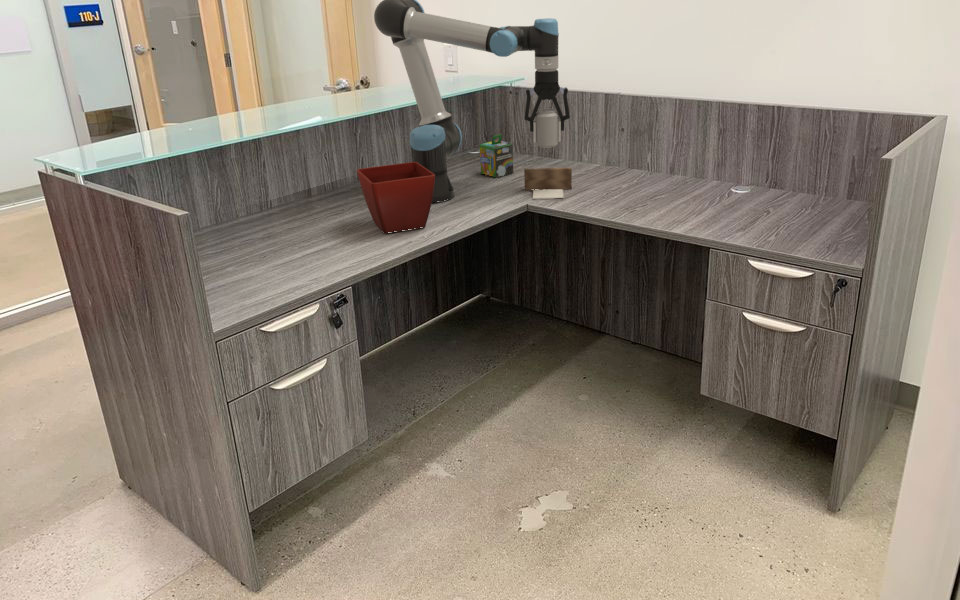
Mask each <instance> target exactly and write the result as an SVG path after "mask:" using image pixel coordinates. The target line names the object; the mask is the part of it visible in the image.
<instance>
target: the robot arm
mask: <svg viewBox="0 0 960 600" xmlns="http://www.w3.org/2000/svg"><path fill="white" fill-rule="evenodd" d="M373 15H374V16H373V19H374V24H375V26H376V28H377V30H378V31H379V32H380V33H381V34H383V35H384V36H385V37H390V39H391V42H392V45H393V46H395V47H397V49H399V51H400V55H401V58H402V61H403V63H404V67H405V70H406V74H407V77H408V80H409V83H410V86H411V89H412V92H413V96H414V98H415V101H416V104H417V108H418V112H419V114H420V116H421V117H420V118H421V119H420V121H419V124H418V125H419V126H417V127H415V128H413V129H412V130H411V131H410V133H409V141H408V143H409V148H410V158H411V159H410V161H411V162H417V163H419V164H420V165H422V166H423V167H425V168H426V169H428V170H429V171H431V172H432V173H433V174H435V182H434V191H433V197H432V202H437V201H444V200H447V199H450V198H452V197H453V196H455V191H454V188H453V185H452V183H451V179H450V177H449V175H448V164H447V163H448V162H447V159H448V158H449V157H451V156H453V155H454V154H456V152H457V151H458V150H459V148H460V146H461V144H462V142H463V141H462V140H463V134H462V131H461V129H460V127H459V126H458V124H456V123H455V122H454V119H453V116H452V114H451V113H450V112H448V111H446V107H445V106H444V102H443V98H442V95H441V93H440V92H441V91H440V89H439V87H438V82H437V80H436V77H435V72H434V69H433V67H432V63H431V60H430V56H429V53H428V51H427V47H426V44H425V40H427V41H432V42H438V43H442V44H446V45H447V44H448V45H452V46H456V47H457V46H458V47H461V48H462V47H463V48H466V49H467V48H468V49H471V50H473V49H474V50H478V51H481V52H487V53H491V54H494V55H495V56H497V57H500V58H501V57H502V58H506V57H510V56H511V55H513V54H515V53H517V52H526V51H527V52H529V51H530V52H534V69H535V70H536V71H534V86H533V87H532V88H526V89H525V94H526V101H525V109H524V111H525V112H524V116H523V117H524V118H523V119H524V120H525V121H527V122H529V131H530V132H531V133H533V143H536V120H535V119H536V114H537V113H538V110H539V108H540V105H541V104H542V101H545V100H548V101H549V100H550V101H551V100H552V102H553V105H554V107H555V109H556V112H557V113H558V118H559V119H558V142H562V139H561V138H562V132H563V131H564V130H565V121H566V120H569V119H570V118H571V115H570V108H569V102H568V100H569V99H568V91H569V90H568V87H567V86H566V87H563V86H562V87H561V86H560V84H559V70H558V68H559V37H560V36H559V34H560V33H559V21H558V20H557V19H556V18H536V19H535V20H534V23H533V25H529V26H528V25H527V26H526V25H522V26H521V25H514V26H513V25H506V26H499V27H496V26H495V27H494V26H490V25H486V24H480V23H476V22H471V21H467V20H466V21H465V20H462V19H461V20H460V19H456V18H450V17H446V16H440V15H435V14H430V13H425V10H424V7H423V6H422V4H421V3H420V2H419V0H382V1H381V2H379V3H378V5H376V7H375V10H374V13H373ZM559 91H560V93H561V95H562V98H563V100H562V101H563V107H564V114H563V112H562V109H561V107H560V105H559V102H558V100H557V97H556V96H557V95H558V93H559ZM534 93H535V94H536V95H537V99H536V101H535V104H534V107H533V109H532V112H531V115H530V107H531V99H532V97H531V96H533V94H534ZM529 115H530V116H529ZM453 198H454V197H453ZM453 198H452V199H453ZM450 200H451V199H450ZM447 201H448V200H447ZM444 202H445V201H444Z"/></svg>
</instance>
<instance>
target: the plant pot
mask: <svg viewBox="0 0 960 600" xmlns="http://www.w3.org/2000/svg"><path fill="white" fill-rule="evenodd" d="M356 173H357V177H358V181H359V184H360V187H361V192H362V194H363V197H364V201H365V203H366V206H367V208H368V211H369V213H370V216H371V218H372V220H373V222H375V223H374V224H375V225H376V226H377V227H378V228H379V230H380V231H381V230H382V231H383V232H384V233H388V232H394V231H402V230H408V229H414V228H420V227H425V228H426V226H427V222H428V219H429V216H430V212H431V207H432V204H433V203H432V197H433V191H434V182H435V174H433V173H432V172H431V171H429V170H428V169H426V168H425V167H423V166H422V165H420V164H419V163H417V162H412V161H409V162H405V163H396V164H395V163H394V164H387V165H380V166H372V167H370V166H369V167H365V168H363V167H362V168H357V169H356ZM383 232H382V233H383ZM384 233H383V234H384Z"/></svg>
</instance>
